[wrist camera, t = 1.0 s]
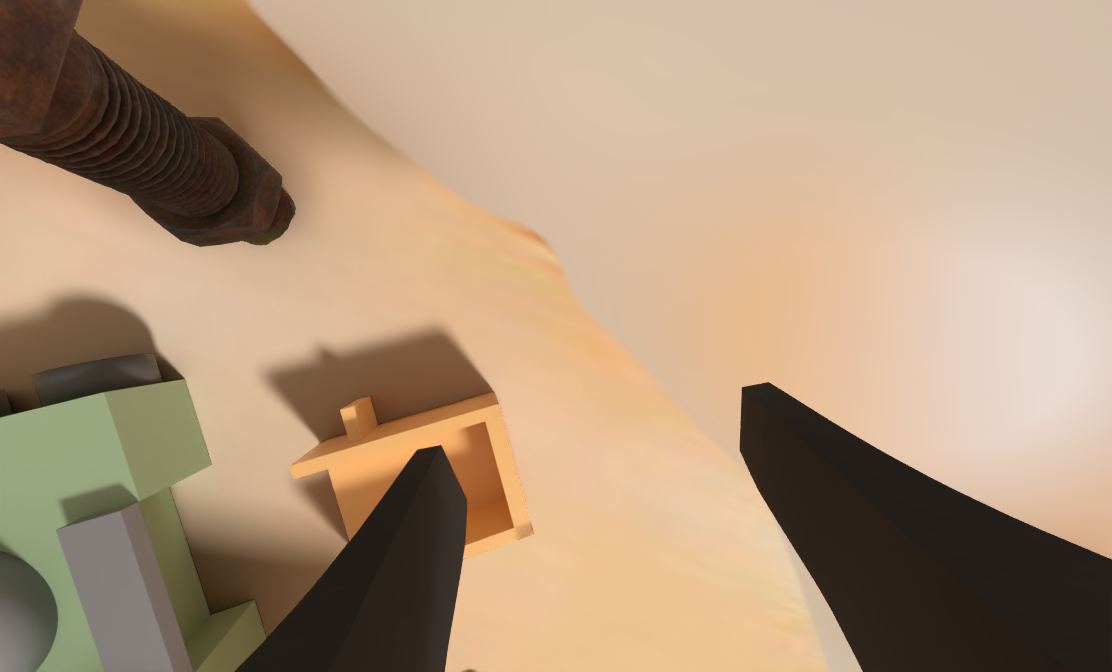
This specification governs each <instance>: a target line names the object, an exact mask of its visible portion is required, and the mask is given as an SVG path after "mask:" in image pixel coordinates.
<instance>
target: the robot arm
mask: <svg viewBox="0 0 1112 672" xmlns="http://www.w3.org/2000/svg"><path fill="white" fill-rule="evenodd" d="M741 401H742V402H741V429H740V452H741V454H742V456H743V458H744V461H745V463H746V465H747V467H748V470H749V472H750V474H751V476H752V478H753V480H754V482H755V484H756V486H757V488H758V490H759V492H760V494H761V495H762V497H763V499H764V500H765V502H766V504H767V505H768V507H769V509H770V510H771V512H772V513H773V515H774V517H775V518H776V520H777V522H778V523H779V525H780V526H781V528H782V530H783V531H784V533H785V534H786V536H787V538H788V539H789V541H790V542H791V544H792V546H793V547H794V549H795V550H796V552H797V554H798V555H799V557H800V558H801V560H802V562H803V563H804V565H805V566H806V568H807V570H808V571H809V573H810V575H811V576H812V578H813V579H814V581H815V582H816V584H817V586H818V587H819V589H820V591H821V593H822V594H823V596H824V598H825V600H826V601H827V603H828V605H829V607H830V608H831V610H832V612H833V614H834V616H835V618H836V620H837V622H838V623H839V626H840V627H841V629H842V631H843V633H844V635H845V637H846V639H847V641H848V643H849V645H850V647H851V649H852V651H853V653H854V655H855V657H856V659H857V661H858V663H859V665H860V666H861V669H862V671H863V672H1112V559H1109V558H1107V557H1104V556H1102V555H1100V554H1097V553H1095V552H1092V551H1090V550H1088V549H1085V548H1083V547H1081V546H1078V545H1076V544H1073V543H1071V542H1069V541H1066V540H1064V539H1061V538H1059V537H1057V536H1054V535H1052V534H1050V533H1047V532H1045V531H1042V530H1040V529H1038V528H1036V527H1033V526H1031V525H1029V524H1027V523H1024V522H1022V521H1020V520H1018V519H1015V518H1013V517H1011V516H1009V515H1007V514H1004V513H1002V512H1000V511H998V510H996V509H994V508H992V507H990V506H988V505H986V504H983V503H981V502H979V501H977V500H975V499H973V498H971V497H969V496H967V495H964V494H962V493H960V492H958V491H956V490H954V489H952V488H950V487H948V486H946V485H944V484H942V483H940V482H938V481H936V480H934V479H932V478H930V477H928V476H927V475H925V474H923V473H921V472H919V471H917V470H915V469H914V468H912V467H909V466H908V465H906V464H904V463H902V462H900V461H899V460H897V459H895V458H893V457H891V456H889V455H888V454H886V453H884V452H882V451H881V450H879V449H877V448H875V447H874V446H872V445H870V444H868V443H867V442H865V441H863V440H862V439H860V438H858V437H856V436H855V435H853V434H851V433H850V432H848V431H846V430H845V429H843V428H841V427H840V426H838V425H837V424H835V423H833V422H832V421H830V420H828V419H827V418H825V417H824V416H822V415H820V414H819V413H817V412H815V411H814V410H812V409H811V408H809V407H807V406H806V405H804V404H803V403H801V402H799V401H798V400H796V399H795V398H793V397H792V396H790V395H788V394H787V393H785V392H784V391H782V390H781V389H779V388H777V387H776V386H774V385H772V384H771V383H769V382H767V383H762V384H757V385H752V386H746V387H742V400H741ZM466 526H467V498H466V496H465V494H464V492H463V490H462V487H461V485H460V483H459V481H458V479H457V477H456V475H455V473H454V471H453V469H452V466H451V464H450V462H449V460H448V458H447V456H446V454H445V452H444V450H443V447H442V445H438V446H433V447H428V448H422V449H417V450H416V452H415V453H414V454H413V456H412V457H411V458H410V460H409V461H408V462H407V464H406V465H405V467H404V468H403V469H402V471H401V472H400V474H399V475H398V476H397V478H396V479H395V481H394V482H393V483H392V485H391V486H390V488H389V489H388V490H387V492H386V493H385V495H384V496H383V497H382V499H381V500H380V501H379V503H378V504H377V506H376V507H375V508H374V510H373V511H372V512H371V514H370V515H369V516H368V518H367V519H366V520H365V522H364V523H363V525H362V526H361V527H360V529H359V530H358V531H357V533H356V534H355V535H354V536H353V538H352V539H351V540H350V541H349V543H348V544H347V545H346V546H345V548H344V549H343V550H342V551H341V553H340V554H339V555H338V556H337V558H336V559H335V560H334V561H333V563H332V564H331V565H330V566H329V568H328V569H327V570H326V571H325V573H324V574H323V575H322V577H321V578H320V579H319V580H318V581H317V582H316V584H315V585H314V586H313V587H312V588H311V590H310V591H309V592H308V593H307V594H306V595H305V596H304V598H303V599H302V600H301V601H300V602H299V603H298V605H297V606H296V607H295V608H294V609H293V610H292V611H291V612H290V613H289V614H288V616H287V617H286V618H285V619H284V620H283V621H282V622H281V623H280V624H279V625H278V627H277V628H276V629H275V630H274V631H273V632H272V633H271V634H270V635H269V636H268V637H267V638H266V640H265V641H264V642H263V643H262V644H261V645H260V646H259V647H258V648H257V649H256V650H255V651H254V652H253V653H252V654H251V655H250V656H249V657H248V658H247V659H246V660H245V661H244V662H243V663H242V664H241V665H240V666H239V667H238V668H237V669H236V670H235V671H234V672H445V665H446V658H447V650H448V644H449V638H450V632H451V626H452V620H453V615H454V609H455V603H456V597H457V591H458V585H459V580H460V574H461V567H462V561H463V555H464V549H465V542H466Z"/></svg>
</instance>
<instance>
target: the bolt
mask: <svg viewBox="0 0 1112 672" xmlns="http://www.w3.org/2000/svg"><path fill="white" fill-rule="evenodd" d="M82 1H83V0H0V143H1V144H4V145H6V146H8V147H10V148H12V149H14V150H16V151H19V152H23V153H25V154H27V155H29V156H31V157H35V158H38V159H40V160H42V161H44V162H46V163H50V164H53V165H56V166H58V167H60V168H62V169H65V170H67V171H69V172H71V173H74V174H77V175H79V176H81V177H84V178H86V179H89V180H92V181H94V182H96V183H99V184H101V185H104V186H107V187H110V188H112V189H115V190H117V191H119V192H121V193H124V194H127V195H129V196H130V197H131V198H132V200H133V201H134V202H135V203H136V204H137V205H138V206H139V207H140V208H141V209H142V210H143V211H144V212H145V213H146V214H147V215H149V216H150V217H151V218H152V219H154V220H155V221H156V222H157V223H158V224H160V225H161V226H162V227H163V228H165V229H166V230H167V231H169V232H170V233H171V234H173V235H174V236H175V237H177V238H178V239H180V240H181V241H183V242H187V243H190V244H193V245H196V246H199V247H203V246H212V245H222V244H227V243H233V242H239V241H244V242H245V241H246V242H248V243H250V244H254V245H267V244H269V243H270V242H271V241H273V240H275V239H277V238H279V237H280V236H281V235H282V234H283V233H284V232H285V231H286V230H287V229H288V226H289V224H290V221H291V219H292V218H293V216H294V215H295V209H296V208H295V205H294V202H293V200H292V199H291V197H290V196H288V194H285V191H284V190H283V189H282V188H281V185H282V176H281V175H280V174H279V173H278V172H277V171H276V170H275V169H274V168H273V167H272V166H271V165H270V164H269V163H268V162H267V161H266V160H265V159H264V158H262V157H261V156H260V155H259V154H258V153H257V152H256V151H255V150H254V149H253V148H252V147H251V146H250V145H249V144H248V143H247V142H245V141H244V140H243V139H242V138H241V137H240V136H239V135H238V134H237V133H236V132H235V131H233V130H232V129H231V128H230V127H229V126H228V125H226V124H225V123H224V122H223V121H222V120H220V119H219V118H213V117H187V116H186V115H185V114H183V113H182V112H180V111H179V110H178V109H177V108H176V107H174V106H172V105H171V104H170V103H169V102H168V101H166V100H164V99H163V98H162V97H160V96H159V95H157V94H156V93H155V92H153V91H152V90H150V89H148V88H146V87H145V86H144V85H143V84H141V83H140V82H138V81H137V80H136V79H135V78H134V77H132V76H131V75H130V74H128V73H127V72H126V71H125V70H123V69H122V68H121V67H120V66H119V65H117V64H116V63H115V62H114V61H112V60H111V59H110V58H109V57H107V56H106V55H105V54H104V53H103V52H101V51H100V50H99V49H98V48H96V47H94V46H93V45H91V44H90V43H89V42H88V41H87V40H86V39H84V38H83V37H81V36H80V35H79V34H77V32H76V31H75V30H74V26H75V23H76V20H77V17H78V14H79V10H80V7H81V4H82Z"/></svg>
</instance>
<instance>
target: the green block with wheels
mask: <svg viewBox="0 0 1112 672" xmlns="http://www.w3.org/2000/svg"><path fill="white" fill-rule="evenodd" d="M32 378H33V381H34V384H35V387H36V390H37V393H38V396H39V399H40V402H41V405H42V408H38V409H33V410H29V411H25V412H21V413H17V414H13V413H12V410H11V407H10V404H9V401H8V398H7V395H6V392H5V390H0V672H234V671H235V670H236V669H237V668H238V667H239V666H240V665H241V664H242V663H243V662H244V661H245V660H246V659H247V658H248V657H249V656H250V655H251V654H252V653H253V652H254V651H255V650H256V649H257V648H258V647H259V646H260V645H261V644H262V643H263V642H264V641H265V640H266V638H267V637H266V634H265V631H264V628H263V625H262V622H261V618H260V615H259V612H258V609H257V606H256V603H255V600H252V601H249V602H246V603H244V604H241V605H238V606H235V607H232V608H229V609H226V610H224V611H221V612H218V613H215V614H212V615H211V614H210V611H209V608H208V605H207V602H206V599H205V596H204V593H203V590H202V587H201V584H200V581H199V577H198V574H197V571H196V568H195V565H194V562H193V559H192V556H191V553H190V550H189V547H188V544H187V540H186V537H185V534H184V531H183V528H182V525H181V522H180V519H179V516H178V513H177V510H176V507H175V503H174V500H173V497H172V494H171V491H170V488H169V486H170V485H172V484H174V483H176V482H178V481H180V480H182V479H184V478H186V477H188V476H190V475H192V474H194V473H196V472H198V471H200V470H202V469H204V468H206V467H208V466H210V465H212V464H211V461H210V457H209V454H208V451H207V448H206V445H205V442H204V438H203V435H202V432H201V429H200V426H199V423H198V419H197V416H196V413H195V410H194V407H193V404H192V401H191V397H190V394H189V391H188V388H187V385H186V382H185V379H183V380H176V381H170V382H164V383H163V381H162V378H161V375H160V372H159V368H158V365H157V362H156V359H155V356H154V354H138V355H129V356H122V357H115V358H109V359H103V360H97V361H91V362H86V363H80V364H75V365H70V366H66V367H61V368H57V369H52V370H48V371H44V372H41V373H38V374H35V375H33V376H32Z"/></svg>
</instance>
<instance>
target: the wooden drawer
mask: <svg viewBox="0 0 1112 672" xmlns="http://www.w3.org/2000/svg"><path fill="white" fill-rule="evenodd" d="M340 412H341V415H342V419H343V422H344V426H345V429H346V432H347V434H345V435H342V436H338V437H335V438H331V439H328V440H325V441H323V442H322V443H320V444H319V445H318V446H316V447H315V448H313V449H312V450H311V451H309V452H308V453H307V454H305V455H304V456H303V457H301V458H300V459H298V460H297V461H296V462H294V463H293V464H292V465H290V468H291V471H292V474H293V478H294V479H297V478H300V477H303V476H306V475H310V474H313V473H316V472H320V471H323V470H326V469H328V472H329V475H330V479H331V482H332V485H333V489H334V492H335V495H336V499H337V502H338V505H339V509H340V512H341V515H342V519H343V522H344V525H345V529H346V532H347V535H348V539H349V541H350V540H351V539H352V538H353V536H354V535H355V534H356V533H357V531H358V530H359V529H360V527H361V526H362V525H363V523H364V522H365V520H366V519H367V518H368V516H369V515H370V514H371V512H372V511H373V510H374V508H375V507H376V506H377V504H378V503H379V501H380V500H381V499H382V497H383V496H384V495H385V493H386V492H387V490H388V489H389V488H390V486H391V485H392V483H393V482H394V481H395V479H396V478H397V476H398V475H399V474H400V472H401V471H402V469H403V468H404V467H405V465H406V464H407V462H408V461H409V460H410V458H411V457H412V456H413V454H414V453H415V452H416V450H417V449H422V448H428V447H433V446H438V445H442V447H443V450H444V452H445V454H446V456H447V458H448V460H449V462H450V464H451V466H452V469H453V471H454V473H455V475H456V477H457V479H458V481H459V483H460V485H461V487H462V490H463V492H464V494H465V496H466V498H467V526H466V542H465V549H464V555H463V560H464V559H467V558H469V557H472V556H475V555H478V554H480V553H483V552H486V551H488V550H491V549H494V548H497V547H499V546H502V545H505V544H508V543H510V542H513V541H516V540H519V539H521V538H524V537H527V536H530V535H532V534H534V532H533V528H532V524H531V521H530V517H529V513H528V510H527V506H526V502H525V499H524V495H523V491H522V487H521V484H520V480H519V476H518V473H517V469H516V465H515V462H514V458H513V454H512V451H511V447H510V443H509V439H508V436H507V432H506V428H505V425H504V421H503V417H502V414H501V410H500V406H499V403H498V400H497V398H496V395H495V392H490V393H487V394H483V395H480V396H476V397H473V398H469V399H466V400H463V401H459V402H456V403H452V404H449V405H445V406H442V407H438V408H435V409H431V410H428V411H425V412H421V413H418V414H414V415H411V416H407V417H404V418H400V419H397V420H394V421H390V422H387V423H383V424H380V425H378V423H377V420H376V416H375V413H374V409H373V406H372V402H371V399H370V396H368V397H364V398H361V399H358V400H356V401H354V402H352V403H351V404H349V405H347V406H346V407H344V408H342V409H340Z"/></svg>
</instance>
